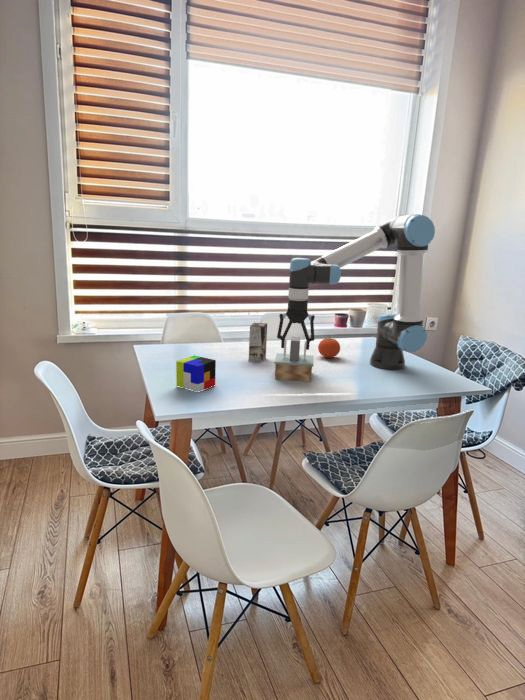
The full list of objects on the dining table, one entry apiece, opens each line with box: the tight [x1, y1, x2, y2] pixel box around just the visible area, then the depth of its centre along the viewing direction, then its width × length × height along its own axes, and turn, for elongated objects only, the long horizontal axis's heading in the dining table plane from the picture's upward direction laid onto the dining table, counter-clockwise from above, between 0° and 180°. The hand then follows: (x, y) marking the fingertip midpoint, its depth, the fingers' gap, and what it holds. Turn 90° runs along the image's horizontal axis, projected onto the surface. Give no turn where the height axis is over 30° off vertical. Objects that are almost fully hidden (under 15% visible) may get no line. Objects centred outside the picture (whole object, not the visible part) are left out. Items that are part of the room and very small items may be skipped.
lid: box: [273, 336, 315, 367], centre depth 184 cm, size 15×13×10 cm
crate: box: [274, 364, 313, 383], centre depth 186 cm, size 14×12×7 cm
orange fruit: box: [317, 337, 341, 359], centre depth 217 cm, size 10×10×10 cm
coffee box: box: [248, 322, 268, 363], centre depth 208 cm, size 9×6×16 cm
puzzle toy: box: [175, 354, 217, 392], centre depth 171 cm, size 10×10×10 cm
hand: (294, 356), depth 185 cm, fingers open, 7 cm apart
